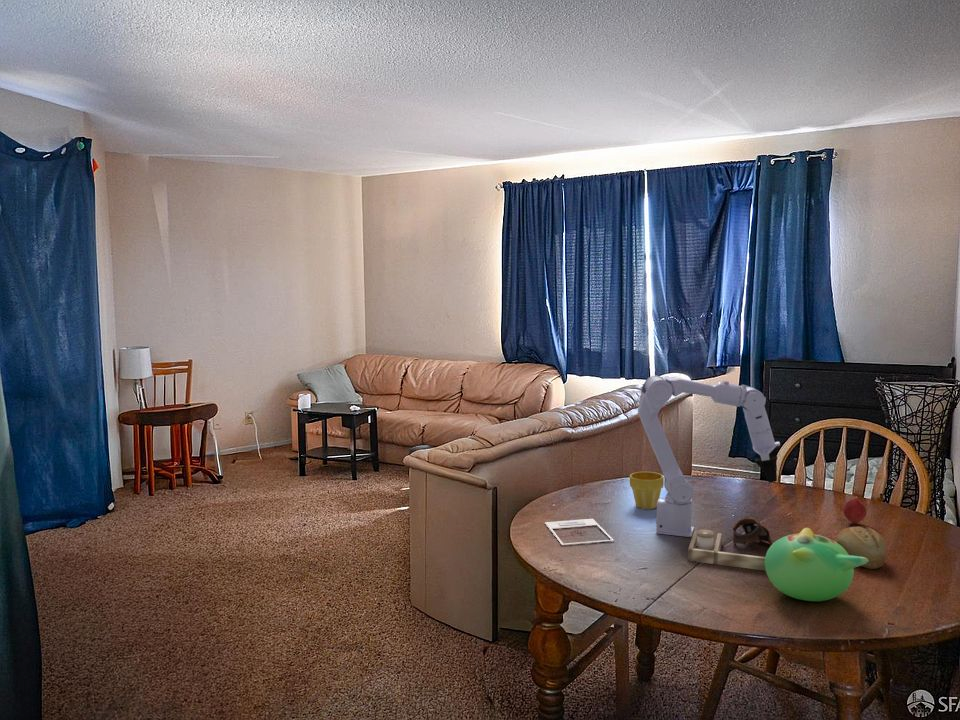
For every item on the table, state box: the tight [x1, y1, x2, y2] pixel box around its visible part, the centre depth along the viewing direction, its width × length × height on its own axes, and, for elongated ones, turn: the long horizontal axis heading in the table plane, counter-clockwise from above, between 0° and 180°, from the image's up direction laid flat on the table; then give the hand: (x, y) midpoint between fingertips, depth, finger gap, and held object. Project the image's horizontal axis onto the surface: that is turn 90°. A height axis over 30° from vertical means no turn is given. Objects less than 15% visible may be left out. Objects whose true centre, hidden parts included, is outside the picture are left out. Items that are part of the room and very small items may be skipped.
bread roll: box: [836, 525, 888, 570], centre depth 178 cm, size 10×15×8 cm, turn 1°
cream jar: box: [696, 529, 715, 551], centre depth 184 cm, size 4×4×6 cm
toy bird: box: [764, 527, 868, 602], centre depth 157 cm, size 18×17×15 cm
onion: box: [842, 496, 868, 525], centre depth 203 cm, size 6×6×8 cm
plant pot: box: [629, 471, 665, 510], centre depth 223 cm, size 10×10×10 cm
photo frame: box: [544, 518, 615, 546], centre depth 201 cm, size 15×1×18 cm
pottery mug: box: [732, 516, 773, 547], centre depth 190 cm, size 12×10×8 cm
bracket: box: [687, 529, 766, 572], centre depth 182 cm, size 22×14×3 cm, turn 68°
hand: (773, 476), depth 197 cm, fingers open, 7 cm apart
